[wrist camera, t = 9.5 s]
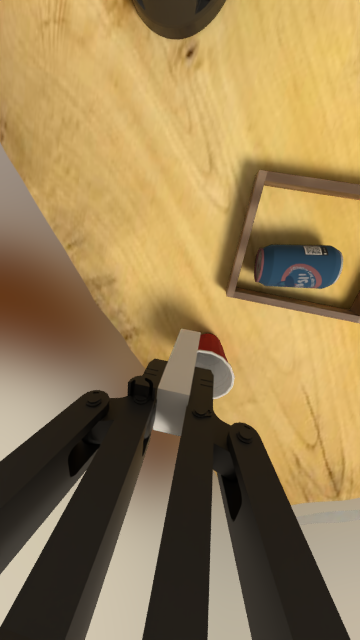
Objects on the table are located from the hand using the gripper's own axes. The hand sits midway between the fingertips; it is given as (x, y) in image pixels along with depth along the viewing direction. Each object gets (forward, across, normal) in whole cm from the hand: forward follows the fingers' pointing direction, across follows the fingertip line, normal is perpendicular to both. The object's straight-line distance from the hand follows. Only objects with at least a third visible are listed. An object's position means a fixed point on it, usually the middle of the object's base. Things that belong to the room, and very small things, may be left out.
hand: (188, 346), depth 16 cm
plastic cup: (+29, +3, -16) cm, 33 cm away
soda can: (+26, +20, +5) cm, 33 cm away
